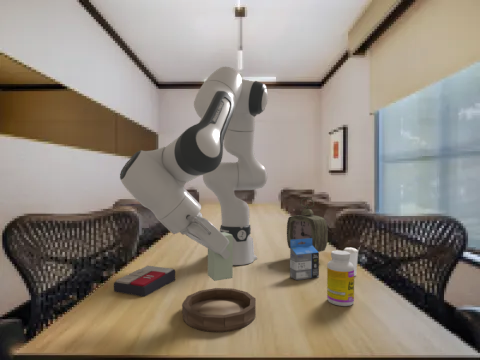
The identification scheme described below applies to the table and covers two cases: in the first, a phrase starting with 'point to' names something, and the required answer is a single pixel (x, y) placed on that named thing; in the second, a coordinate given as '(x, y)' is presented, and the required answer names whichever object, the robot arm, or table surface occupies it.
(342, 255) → the supplement bottle
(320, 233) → the tabletop clock
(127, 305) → the table surface
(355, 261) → the milkshake
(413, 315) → the table surface
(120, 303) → the table surface
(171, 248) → the table surface
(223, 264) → the block
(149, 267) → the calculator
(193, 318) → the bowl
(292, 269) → the label tape cartridge
